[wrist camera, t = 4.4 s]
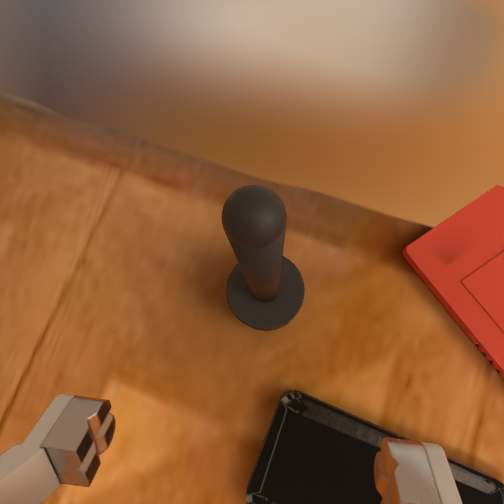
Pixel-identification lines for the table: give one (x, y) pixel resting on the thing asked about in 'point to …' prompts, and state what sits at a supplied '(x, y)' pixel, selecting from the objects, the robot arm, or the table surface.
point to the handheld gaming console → (468, 270)
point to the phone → (336, 459)
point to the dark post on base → (260, 260)
